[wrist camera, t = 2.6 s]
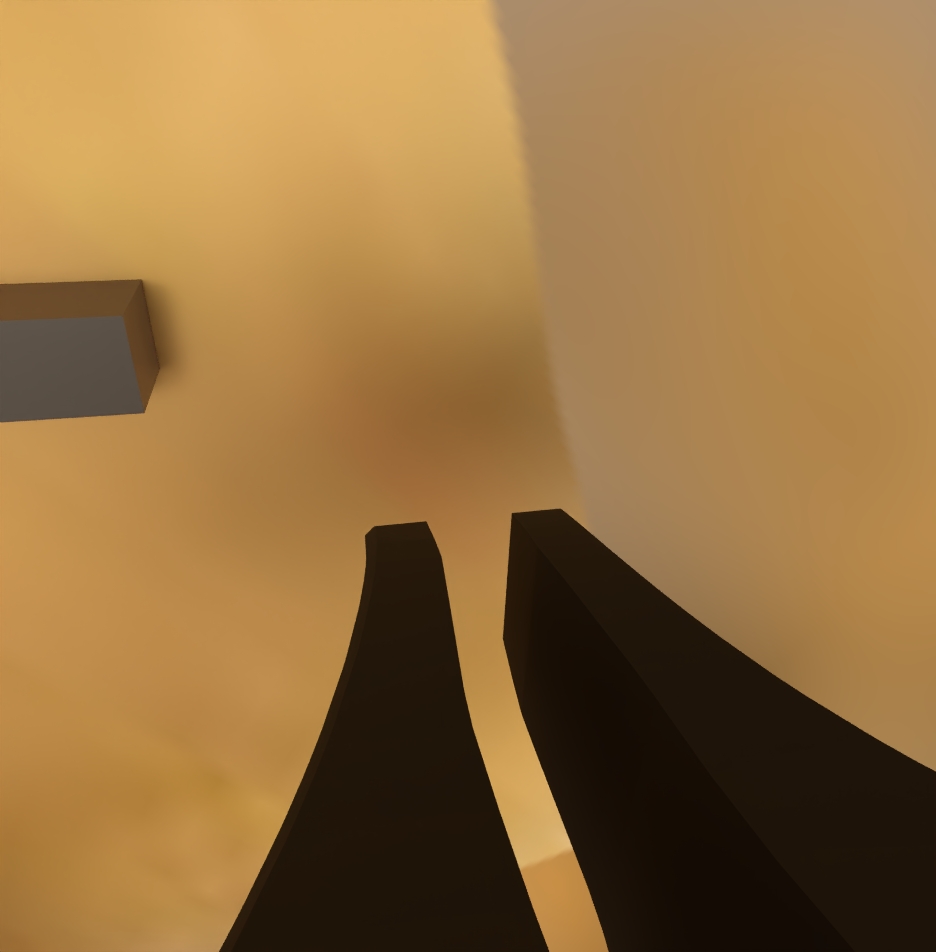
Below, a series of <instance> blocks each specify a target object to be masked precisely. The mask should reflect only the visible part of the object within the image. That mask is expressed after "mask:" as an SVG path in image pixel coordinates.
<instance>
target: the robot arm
mask: <svg viewBox="0 0 936 952" xmlns="http://www.w3.org/2000/svg"><path fill="white" fill-rule="evenodd" d="M365 544H366V569H365V577H364V584H363V589H362V594H361V600H360V605H359V610H358V614H357V618H356V622H355V625H354V629H353V633H352V637H351V641H350V645H349V649H348V653H347V656H346V660H345V663H344V666H343V670H342V673H341V676H340V678H339V681H338V684H337V687H336V690H335V693H334V696H333V699H332V702H331V705H330V708H329V711H328V714H327V717H326V719H325V722H324V725H323V728H322V731H321V733H320V736H319V739H318V741H317V744H316V746H315V749H314V751H313V754H312V757H311V759H310V762H309V764H308V767H307V769H306V771H305V774H304V776H303V779H302V781H301V783H300V786H299V788H298V790H297V793H296V795H295V797H294V799H293V802H292V804H291V806H290V809H289V811H288V813H287V815H286V818H285V820H284V822H283V824H282V827H281V829H280V831H279V833H278V835H277V837H276V839H275V841H274V843H273V845H272V847H271V850H270V852H269V854H268V856H267V858H266V860H265V862H264V864H263V866H262V868H261V870H260V872H259V874H258V876H257V878H256V880H255V883H254V885H253V887H252V889H251V891H250V893H249V895H248V897H247V899H246V901H245V903H244V905H243V907H242V909H241V911H240V913H239V915H238V917H237V919H236V920H235V922H234V924H233V926H232V928H231V930H230V932H229V934H228V936H227V938H226V940H225V942H224V943H223V945H222V947H221V949H220V951H219V952H549V950H548V947H547V944H546V942H545V939H544V936H543V934H542V931H541V928H540V925H539V923H538V920H537V918H536V915H535V912H534V909H533V907H532V904H531V901H530V898H529V895H528V892H527V889H526V886H525V883H524V881H523V878H522V875H521V872H520V869H519V866H518V863H517V860H516V857H515V854H514V852H513V849H512V846H511V843H510V840H509V837H508V834H507V831H506V828H505V825H504V823H503V820H502V817H501V814H500V811H499V808H498V805H497V802H496V799H495V796H494V792H493V789H492V786H491V783H490V780H489V777H488V774H487V771H486V768H485V764H484V761H483V758H482V755H481V752H480V749H479V746H478V743H477V739H476V736H475V733H474V730H473V727H472V723H471V718H470V714H469V710H468V705H467V701H466V697H465V693H464V687H463V681H462V675H461V669H460V663H459V657H458V651H457V645H456V639H455V633H454V627H453V621H452V615H451V609H450V603H449V597H448V591H447V586H446V580H445V574H444V568H443V563H442V557H441V554H440V552H439V549H438V547H437V544H436V542H435V539H434V537H433V535H432V533H431V531H430V528H429V526H428V524H427V522H415V523H405V524H394V525H384V526H374V527H373V528H372V529H371V530H370V531H369V532H368V533H367V534H366V535H365ZM503 641H504V645H505V650H506V654H507V658H508V662H509V666H510V670H511V675H512V679H513V683H514V686H515V690H516V694H517V698H518V702H519V706H520V710H521V713H522V716H523V719H524V721H525V724H526V727H527V730H528V732H529V735H530V738H531V740H532V743H533V746H534V748H535V751H536V753H537V756H538V759H539V761H540V764H541V767H542V769H543V772H544V775H545V777H546V780H547V782H548V785H549V788H550V790H551V793H552V795H553V798H554V801H555V803H556V806H557V808H558V811H559V813H560V816H561V819H562V821H563V824H564V826H565V829H566V832H567V834H568V837H569V839H570V842H571V845H572V847H573V850H574V852H575V855H576V857H577V860H578V863H579V865H580V868H581V870H582V873H583V876H584V878H585V881H586V883H587V886H588V889H589V892H590V895H591V898H592V901H593V904H594V906H595V909H596V912H597V915H598V918H599V921H600V924H601V927H602V930H603V933H604V937H605V940H606V944H607V947H608V951H609V952H936V772H935V771H934V770H932V769H930V768H928V767H926V766H924V765H922V764H920V763H918V762H917V761H915V760H913V759H911V758H909V757H907V756H906V755H904V754H902V753H901V752H899V751H897V750H895V749H894V748H892V747H890V746H888V745H886V744H884V743H883V742H881V741H879V740H878V739H876V738H874V737H873V736H871V735H869V734H868V733H866V732H864V731H863V730H861V729H859V728H858V727H856V726H854V725H853V724H851V723H850V722H848V721H846V720H845V719H843V718H841V717H840V716H838V715H836V714H835V713H833V712H832V711H830V710H828V709H827V708H825V707H823V706H822V705H820V704H818V703H817V702H815V701H814V700H812V699H810V698H808V697H807V696H805V695H804V694H802V693H801V692H799V691H798V690H796V689H795V688H793V687H791V686H790V685H788V684H787V683H786V682H784V681H782V680H781V679H779V678H778V677H776V676H775V675H773V674H772V673H770V672H769V671H768V670H766V669H765V668H763V667H762V666H761V665H759V664H758V663H756V662H755V661H753V660H752V659H751V658H749V657H748V656H746V655H745V654H744V653H742V652H741V651H739V650H738V649H736V648H735V647H733V646H732V645H731V644H729V643H728V642H726V641H725V640H723V639H722V638H721V637H719V636H718V635H717V634H715V633H714V632H713V631H711V630H710V629H709V628H707V627H706V626H705V625H703V624H702V623H701V622H699V621H698V620H697V619H695V618H694V617H693V616H691V615H690V614H689V613H687V612H686V611H685V610H684V609H682V608H681V607H680V606H678V605H677V604H676V603H675V602H673V601H672V600H671V599H670V598H668V597H667V596H666V595H664V594H663V593H662V592H661V591H660V590H658V589H657V588H656V587H655V586H653V585H652V584H651V583H650V582H648V581H647V580H646V579H645V578H644V577H642V576H641V575H640V574H639V573H637V572H636V571H635V570H634V569H633V568H631V567H630V566H629V565H628V564H626V563H625V562H624V561H623V560H622V559H621V558H619V557H618V556H617V555H616V554H615V553H613V552H612V551H611V550H610V549H608V548H607V547H606V546H605V545H604V544H603V543H601V542H600V541H599V540H598V539H597V538H596V537H594V536H593V535H592V534H591V533H590V532H589V531H587V530H586V529H585V528H584V527H583V526H581V525H580V524H579V523H578V522H577V521H575V520H574V519H573V518H572V517H571V516H569V515H568V514H567V513H566V512H564V511H563V510H562V509H551V510H540V511H530V512H520V513H512V518H511V532H510V546H509V560H508V574H507V589H506V603H505V617H504V631H503Z"/></svg>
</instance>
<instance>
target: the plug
mask: <svg viewBox="0 0 936 952" xmlns="http://www.w3.org/2000/svg"><path fill="white" fill-rule="evenodd" d="M159 369H160V367H159V362H158V358H157V353H156V348H155V343H154V338H153V333H152V329H151V324H150V319H149V314H148V309H147V304H146V299H145V295H144V290H143V285H142V280H114V281H84V282H55V283H25V284H0V422H15V421H30V420H45V419H61V418H76V417H92V416H107V415H123V414H138V413H145V410H146V407H147V404H148V401H149V399H150V396H151V393H152V390H153V387H154V384H155V381H156V378H157V375H158V372H159Z"/></svg>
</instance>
